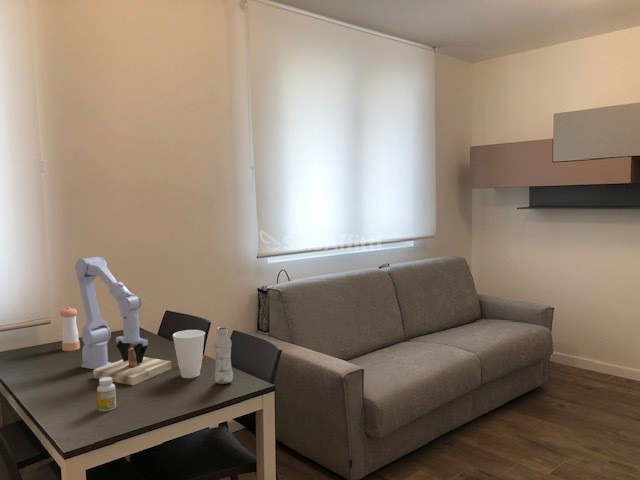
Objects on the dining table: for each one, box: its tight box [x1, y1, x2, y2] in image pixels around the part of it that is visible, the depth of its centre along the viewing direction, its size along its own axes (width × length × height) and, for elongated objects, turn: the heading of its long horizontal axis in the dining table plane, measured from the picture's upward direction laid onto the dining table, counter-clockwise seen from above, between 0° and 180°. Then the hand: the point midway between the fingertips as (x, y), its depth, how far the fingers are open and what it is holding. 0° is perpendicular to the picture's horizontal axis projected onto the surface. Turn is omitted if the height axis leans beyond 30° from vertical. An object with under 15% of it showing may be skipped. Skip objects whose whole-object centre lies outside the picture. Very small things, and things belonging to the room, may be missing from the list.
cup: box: [172, 329, 206, 379], centre depth 203 cm, size 12×12×16 cm
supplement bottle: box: [96, 377, 117, 412], centre depth 172 cm, size 5×5×10 cm
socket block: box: [92, 356, 172, 386], centre depth 207 cm, size 20×20×3 cm
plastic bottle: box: [213, 326, 234, 385], centre depth 193 cm, size 6×7×20 cm
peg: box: [128, 347, 137, 368], centre depth 206 cm, size 3×3×10 cm
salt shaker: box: [59, 306, 81, 352], centre depth 241 cm, size 7×7×19 cm
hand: (132, 362), depth 206 cm, fingers open, 6 cm apart
